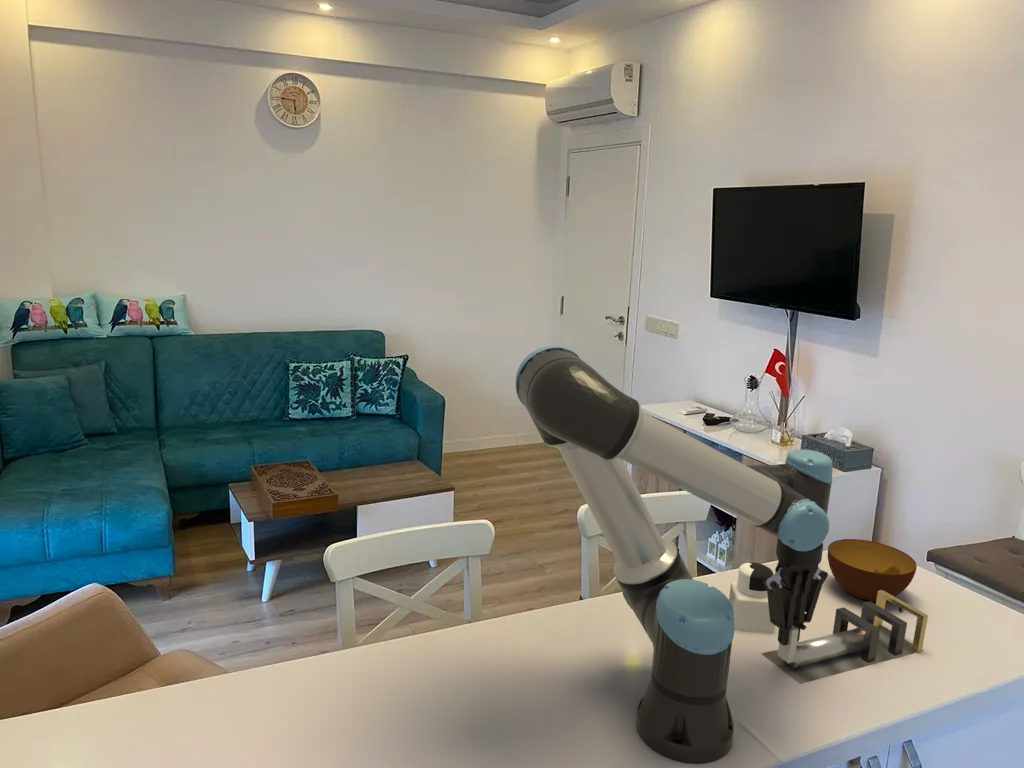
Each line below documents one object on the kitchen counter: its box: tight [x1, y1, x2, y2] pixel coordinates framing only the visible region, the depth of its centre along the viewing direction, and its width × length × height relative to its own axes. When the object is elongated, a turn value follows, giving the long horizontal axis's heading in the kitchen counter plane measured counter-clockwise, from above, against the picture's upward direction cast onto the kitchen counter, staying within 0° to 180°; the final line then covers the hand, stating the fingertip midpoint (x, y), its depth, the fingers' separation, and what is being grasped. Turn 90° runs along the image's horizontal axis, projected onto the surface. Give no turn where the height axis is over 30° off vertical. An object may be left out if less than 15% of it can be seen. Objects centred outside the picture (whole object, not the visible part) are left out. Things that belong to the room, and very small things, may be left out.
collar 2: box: [860, 601, 908, 656], centre depth 145 cm, size 2×8×6 cm, turn 23°
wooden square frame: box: [873, 590, 929, 654], centre depth 146 cm, size 1×10×8 cm, turn 23°
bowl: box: [827, 538, 918, 602], centre depth 164 cm, size 18×18×10 cm
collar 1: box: [832, 607, 880, 663], centre depth 142 cm, size 2×8×6 cm, turn 23°
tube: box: [783, 627, 879, 668], centre depth 140 cm, size 20×4×4 cm, turn 113°
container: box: [728, 562, 776, 634], centre depth 150 cm, size 8×8×13 cm
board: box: [760, 625, 924, 685], centre depth 142 cm, size 31×10×1 cm, turn 113°
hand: (786, 658), depth 136 cm, fingers closed
